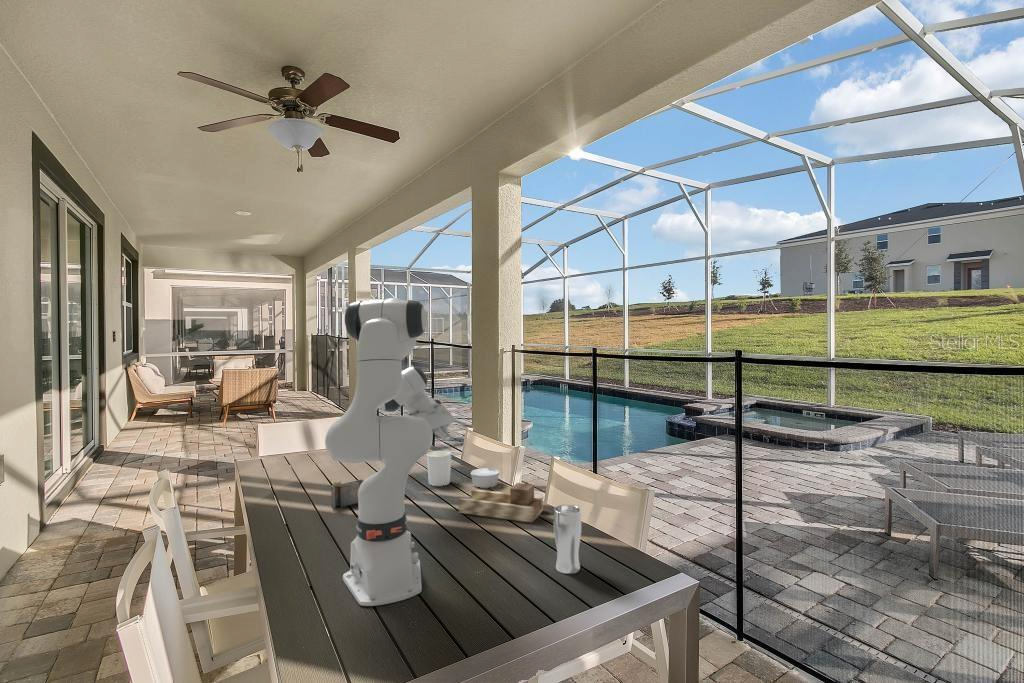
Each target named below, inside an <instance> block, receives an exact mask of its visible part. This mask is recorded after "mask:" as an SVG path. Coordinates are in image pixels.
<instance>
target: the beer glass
mask: <svg viewBox="0 0 1024 683" xmlns="http://www.w3.org/2000/svg"><path fill="white" fill-rule="evenodd" d="M553 511H554V512H553V533H554V534H553V536H554V539H555V541H554V542H555V545H556V552H557V553H556V562H555V563H556V564H555V569H556V571H558V572H559V573H561V574H565V575H572V574H576V573H578V572H579V571H580V569H581V563H580V558H579V549H580V543H581V536H582V517H581V516H582V514H581V508H580V507H578V506H577V505H573V504H560V505H557V506H555V507H554V510H553Z"/></svg>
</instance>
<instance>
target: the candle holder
mask: <svg viewBox="0 0 1024 683" xmlns="http://www.w3.org/2000/svg"><path fill="white" fill-rule="evenodd" d="M426 462H427V475H428V476H427V478H428V484H429V485H430V486H431V485H432V486H431V487H443V485H444V486H447V485H449V484H450V482H451V466H452V465H451V464H452V463H451V462H452V452H451V451H448V450H432V451H428V452H427V453H426Z"/></svg>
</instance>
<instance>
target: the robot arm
mask: <svg viewBox="0 0 1024 683" xmlns="http://www.w3.org/2000/svg"><path fill="white" fill-rule="evenodd" d="M427 324H428V315H427V311H426V309H425V308H424V305H423V304H422V303H421V301H417V300H412V299H407V300H402V299H401V298H396V297H389V298H386V299H373V300H366V301H362V300H359V301H354V302H351V303H349V305H348V306H347V307H346V309H345V314H344V325H345V329H346V332H347V334H348V335H350V337H351V338H352V339H355V340H356V341H357V350H356V382H355V384H356V385H355V392H354V396H353V398H352V401H351V403H350V405H349V407H348V408H347V410H345V411H346V412H345V413H343V415H342V416H341V417H339V419H337V420H336V421H334V422H333V423H332V425H330V427H329V428H328V429H327V432H326V434H325V438H324V439H325V440H324V443H325V450H326V451H327V455H329V457H330V458H331V460H333V461H334V462H340V463H349V464H358V463H361V464H362V463H370V462H371V463H372V462H374V463H375V462H382V463H384V465H383V467H382V468H381V469H380V470H379V471H377V472H375V473H373V474H372V475H370V476H368V477H367V478H365V479H363V480H364V481H363V482H362V484H361V485H360V487H359V490H358V503H357V504H358V516H357V519H356V525H355V526H356V534H357V535H356V537H355V538H354V539H353V541H352V542H351V543H350V565H349V566H350V570H347V571H346V572H344V573H343V575H342V581H343V583H344V584H345V586H346V587H347V588H348V591H350V593H351V595H352V596H353V597H354V599H355V600H356V602H357V603H358V604H359V606H363V607H374V606H375V607H376V606H382V605H387V604H392V603H397V602H400V601H404V600H407V599H410V598H412V597H416V595H417V596H418V595H419V594H421V592H422V591H423V587H422V573H421V572H422V571H421V560H420V559H419V552H412V549H414V548H415V546H416V544H415V541H412V533H411V532H410V531H409V530H408V525H407V524H408V523H407V522H408V520H407V516H406V515H407V514H406V511H405V491H406V483H407V481H408V480H407V479H408V476H409V474H410V472H411V471H412V469H413V467H414V466H415V464H417V462H418V461H419V460H420V459H421V458H423V457H424V456H425V455H427V453H429V450H430V448H431V447H432V444H433V441H434V440H433V438H434V437H433V436H434V435H433V434H435V435H436V436H438V437H440V438H441V439H442V440H443V441H447V440H449V439H450V438H451V437H452V436H451V434H450V433H449V431H448V428H449V427H451V425H453V424H454V422H455V417H454V415H452V414H451V412H450V411H449V409H448V408H446V407H445V406H444V403H443V401H442V400H440V399H436V398H433V397H430V396H429V395H428V394H427V393H426V392H424V390H425V389H426V388H427V385H428V380H429V379H428V377H427V375H426V373H425V372H424V371H423V370H422V369H421V368H419V367H418V366H414V365H413V366H411V365H410V366H409V367H406V368H405V369H403V365H402V364H403V360H404V359H405V358H406V357H407V356H408V355H410V353H412V351H413V350H414V349H415V346H416V345H417V340H418V337H421V336H422V335H423V334H424V333H425V330H426V327H427ZM402 406H405V407H406V409H407V412H409V413H408V415H390V416H389V415H388V416H387V415H386V416H380V415H377V413H378V410H379V408H380V409H381V410H382V411H384V412H396V411H397V410H398V409H400V408H401V407H402Z"/></svg>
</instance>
